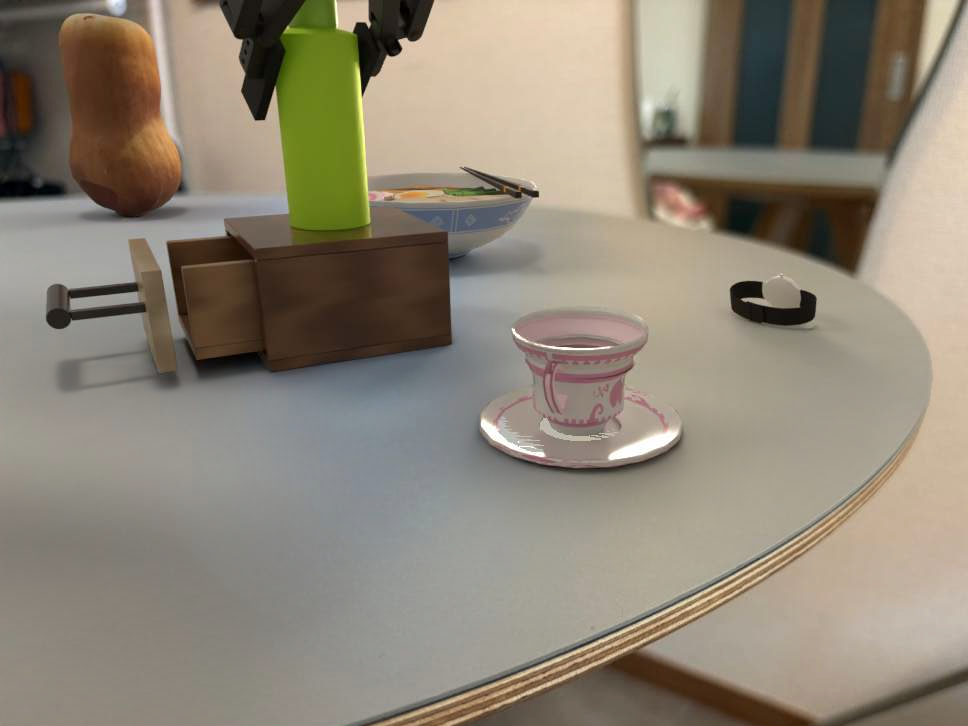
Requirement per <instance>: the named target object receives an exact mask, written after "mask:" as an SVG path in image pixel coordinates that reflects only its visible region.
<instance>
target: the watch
mask: <svg viewBox="0 0 968 726" xmlns="http://www.w3.org/2000/svg"><path fill="white" fill-rule="evenodd" d="M729 299H730V308H731V311H732V312H733V313H734V314H736V315H737V316H739V317H741V318H744V319H746V320H748V321H750V322H755V323H758V324H768V325H772V326H783V327H784V326H785V327H789V326H790V327H792V326H801V325H805V324H807V323H810V322H811V321H814V319H815V317H816V312H817V301H818V297H817V296H816V295H815V294H814V293H812V292H810V291H807V290H804V289H803V288H800V287H799V285H798V284H797V283H796V282H795V280H793V278H790V276H789V277H788V276H785V275H784V273H779V275H777V276H773V277H772V278H770V279H768V280H767V281H764V280H762V281H759V280H742V281H738V282H736V283H734V284H732V285H731V286H730V288H729ZM743 299H744V300H743ZM745 299H762V300H765V301H766V302H767V303H768V304H769V305H770V306H768V305H762V304H759V303H754V302H752V301H748V300H746V301H745Z"/></svg>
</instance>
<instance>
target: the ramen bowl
mask: <svg viewBox="0 0 968 726" xmlns="http://www.w3.org/2000/svg"><path fill="white" fill-rule="evenodd" d="M459 169H461V170H463V171H464V172H451V171H450V172H448V171H447V172H445V171H443V172H442V171H441V172H440V171H439V172H403V173H388V174H387V173H386V174H375V175H374V174H373V175H367V181H368V196H369V208H371V207H384V206H392V207H395V208H397V209H399V210H401V211H404V212H406V213H408V214H410V215H412V216H415V217H417V218H419V219H421V220H423V221H426V222H428V223H430V224H432V225H434V226H437V227H439V228H441V229H443V230H446V231H448V248H449V259H455V258H459V257H463V256H465V255H467V254H469V253H470V252H471V251H473V250H476V249H477V248H480V247H483V246H484V245H487V244H491V243H492V242H495V241H496V240H498V239H499V238H500V237H502V236H503V235H505V234H506V233H507V232H509V231H510V230H511V229H513V228H514V227H515V225H516V224H517V223H518V222H519V221H520V220H521V218H522V217H523V216H524V214H525V212H526V211H527V210H528V208H529V206H530V204H531V203H532V201H533V199H537V198H540V191H539V190H538V186H537V184H536V183H535V181H532V180H527V179H523V178H520V177H515V176H510V175H509V176H508V175H501V174H491V173H490V174H489V173H486V172H482V171H479V170H476V169H473V168H470V167H468V166H463V167H462V166H459Z"/></svg>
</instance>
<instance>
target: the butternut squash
mask: <svg viewBox="0 0 968 726" xmlns="http://www.w3.org/2000/svg"><path fill="white" fill-rule="evenodd" d="M147 31H148V30H146V29H145V28H143V27H142V26H141V25H140V24H138V23H137V22H135V21H132V20H129V19H127V18H121V17H117V16H116V17H115V16H110V15H102V14H98V13H91V12H90V13H89V12H88V13H75V14H72V15H70V16H68V17H67V18H65V20H64V21H63V23H62V25H61V27H60V30H59V34H58V44H59V49H60V54H61V62H62V74H63V79H64V80H63V81H64V83H65V88H66V94H67V100H68V105H69V113H70V118H71V136H70V139H69V147H68V151H69V153H68V154H69V155H68V164H69V168H70V173H71V177H72V178H73V180H75V182H76V183H77V184H78V186H79V187H80V189H81V190H82V191H83V192H84V193H85V194H86V195H87V196H88V198H90V200H91V201H93V203H95V204H96V205H98V206H100V207H102V208H105V209H107V210H111V211H114V212H115V213H117V214H118V215H120V216H121V217H133V216H139V217H142V216H145V215H147V214H148V213H150V212H152V211H155V210H157V209H159V208H162V207H163V206H164V205H166V204H167V203H168V202H169V201H171V200H172V198H173V197H174V196H175V195H176V193H177V192H178V190H179V188H180V186H181V181H182V175H183V170H182V169H183V168H182V161H181V158H180V154H179V151H178V149H177V146H176V144H175V142H174V140H173V138H172V136H171V134H170V133H169V131H168V129H167V127H166V125H165V123H164V121H163V119H162V118H163V117H162V114H161V101H162V85H161V76H160V70H159V65H158V58H157V52H156V47H155V44H154V42H153V38H152V37H151V36H150V34H149V33H148V32H147Z"/></svg>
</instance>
